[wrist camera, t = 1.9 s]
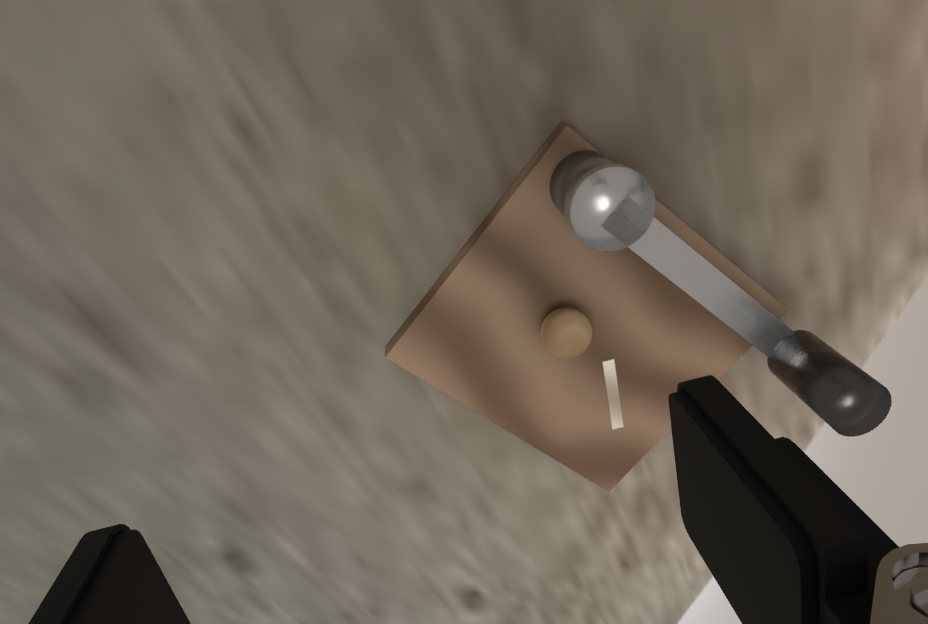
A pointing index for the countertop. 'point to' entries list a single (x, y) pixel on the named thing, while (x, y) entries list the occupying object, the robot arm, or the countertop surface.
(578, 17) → the countertop surface
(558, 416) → the press base
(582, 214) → the lever
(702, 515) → the robot arm
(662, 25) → the countertop surface
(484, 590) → the countertop surface
